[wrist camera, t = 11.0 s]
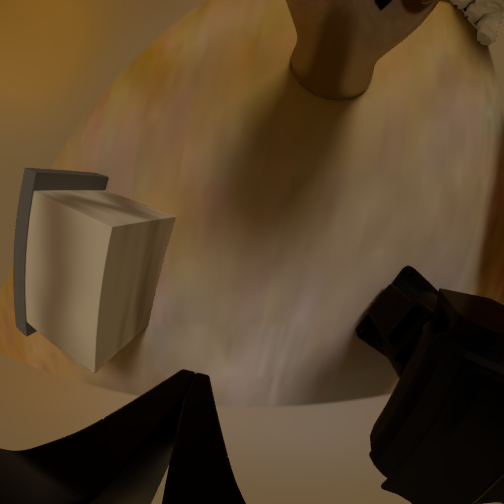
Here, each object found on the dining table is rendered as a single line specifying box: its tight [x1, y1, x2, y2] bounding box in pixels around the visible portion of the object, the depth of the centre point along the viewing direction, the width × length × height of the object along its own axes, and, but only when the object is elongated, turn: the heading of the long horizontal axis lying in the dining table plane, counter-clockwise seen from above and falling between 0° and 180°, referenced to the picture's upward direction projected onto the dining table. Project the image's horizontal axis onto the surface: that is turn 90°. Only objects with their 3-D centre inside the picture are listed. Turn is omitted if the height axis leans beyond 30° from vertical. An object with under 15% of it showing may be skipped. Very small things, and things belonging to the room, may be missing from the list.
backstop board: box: [13, 168, 108, 336], centre depth 17 cm, size 2×12×8 cm, turn 160°
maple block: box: [25, 190, 176, 373], centre depth 17 cm, size 7×10×8 cm
